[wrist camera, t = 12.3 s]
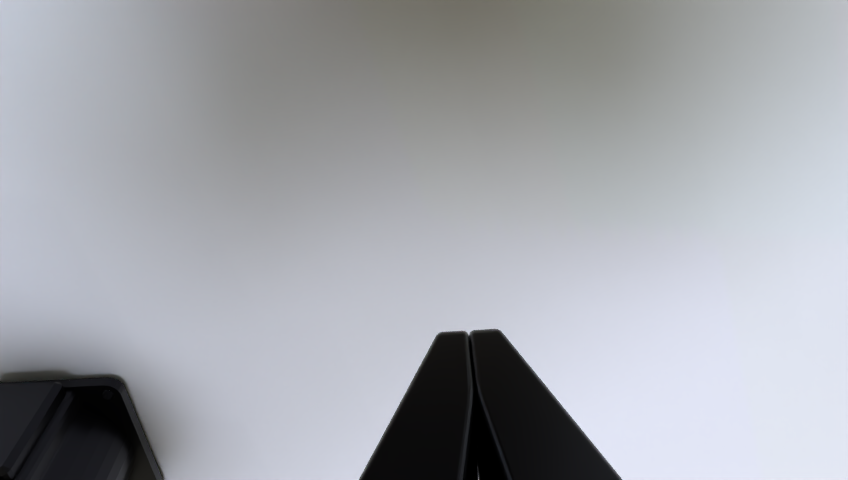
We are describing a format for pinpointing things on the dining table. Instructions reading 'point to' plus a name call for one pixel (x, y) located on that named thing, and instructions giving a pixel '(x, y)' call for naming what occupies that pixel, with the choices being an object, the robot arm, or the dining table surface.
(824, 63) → the dining table surface
